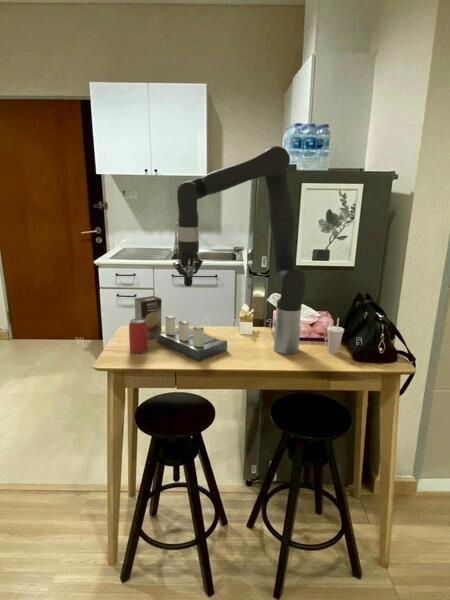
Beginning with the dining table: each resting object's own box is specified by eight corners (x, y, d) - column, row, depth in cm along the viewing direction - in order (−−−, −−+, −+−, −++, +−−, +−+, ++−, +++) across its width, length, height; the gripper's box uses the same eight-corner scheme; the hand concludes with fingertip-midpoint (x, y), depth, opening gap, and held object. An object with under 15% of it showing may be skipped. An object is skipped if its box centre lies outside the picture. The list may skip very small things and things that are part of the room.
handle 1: (170, 331, 162) (170, 315, 160) (175, 333, 160) (175, 317, 158) (165, 333, 160) (165, 316, 158) (170, 335, 158) (170, 318, 156)
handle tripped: (183, 337, 157) (183, 320, 155) (188, 339, 155) (188, 322, 153) (178, 338, 155) (178, 321, 153) (183, 341, 153) (184, 323, 151)
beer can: (130, 347, 157) (129, 318, 153) (147, 346, 158) (146, 317, 154) (129, 354, 150) (128, 323, 147) (147, 353, 152) (146, 323, 148)
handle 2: (197, 343, 151) (198, 325, 150) (203, 345, 150) (203, 327, 148) (193, 344, 150) (193, 327, 148) (198, 347, 148) (198, 329, 146)
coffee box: (142, 340, 164) (141, 302, 159) (135, 335, 169) (133, 298, 164) (162, 335, 170) (161, 298, 165) (154, 331, 174) (153, 295, 170)
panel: (185, 334, 172) (185, 324, 171) (227, 350, 156) (227, 340, 155) (157, 343, 161) (157, 333, 160) (198, 362, 146) (198, 351, 145)
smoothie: (342, 356, 155) (346, 321, 151) (324, 354, 156) (328, 319, 152) (340, 349, 161) (344, 316, 157) (324, 348, 162) (327, 314, 158)
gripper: (181, 242, 139) (181, 291, 144) (208, 238, 148) (208, 285, 153) (167, 239, 144) (167, 286, 149) (194, 236, 153) (194, 281, 158)
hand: (188, 285), depth 151 cm, fingers closed
